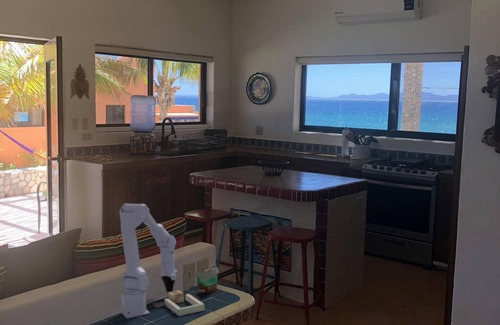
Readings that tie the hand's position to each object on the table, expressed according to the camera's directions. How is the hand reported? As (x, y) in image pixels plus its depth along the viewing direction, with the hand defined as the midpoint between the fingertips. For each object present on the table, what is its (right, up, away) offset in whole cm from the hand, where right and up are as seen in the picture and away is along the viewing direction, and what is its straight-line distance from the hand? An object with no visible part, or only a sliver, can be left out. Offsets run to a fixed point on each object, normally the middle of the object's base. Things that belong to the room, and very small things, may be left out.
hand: (169, 292), depth 234 cm
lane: (+8, -3, -14) cm, 16 cm away
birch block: (+4, -2, -7) cm, 8 cm away
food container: (+18, -1, +5) cm, 19 cm away
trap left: (-3, -3, -10) cm, 11 cm away
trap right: (+10, -2, -3) cm, 11 cm away
